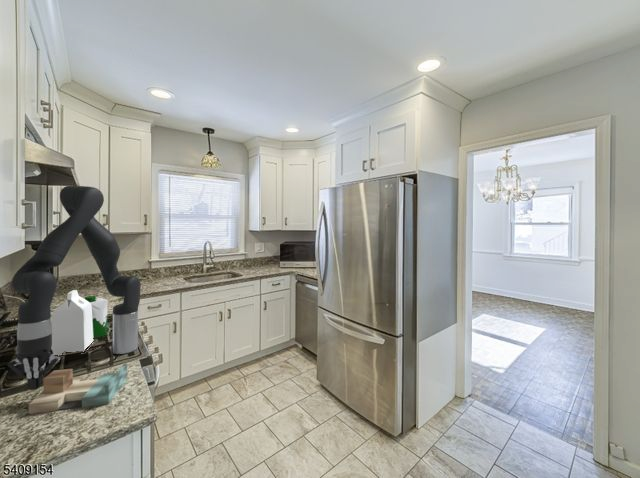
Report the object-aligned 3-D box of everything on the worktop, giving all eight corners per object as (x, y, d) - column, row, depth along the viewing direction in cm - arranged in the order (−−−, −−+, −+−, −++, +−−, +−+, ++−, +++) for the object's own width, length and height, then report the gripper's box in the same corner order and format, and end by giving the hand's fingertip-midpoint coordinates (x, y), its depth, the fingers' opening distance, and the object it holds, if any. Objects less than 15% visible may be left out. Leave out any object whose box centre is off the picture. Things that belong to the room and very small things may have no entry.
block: (54, 385, 89) (54, 370, 89) (72, 383, 91) (72, 368, 90) (43, 394, 84) (43, 378, 84) (63, 392, 86) (63, 376, 86)
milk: (61, 345, 124) (61, 289, 123) (93, 342, 129) (93, 287, 128) (49, 357, 113) (48, 295, 112) (84, 353, 118) (84, 293, 117)
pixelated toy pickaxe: (59, 386, 93) (59, 369, 93) (126, 379, 99) (126, 363, 99) (28, 414, 80) (28, 394, 80) (108, 403, 85) (108, 385, 85)
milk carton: (80, 336, 134) (80, 296, 133) (102, 331, 142) (102, 293, 141) (88, 341, 130) (88, 299, 129) (110, 334, 137) (110, 295, 137)
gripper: (68, 328, 91) (68, 379, 91) (18, 331, 87) (18, 384, 88) (52, 337, 83) (53, 392, 84) (-3, 340, 80) (-2, 398, 81)
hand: (35, 388), depth 86 cm, fingers closed
